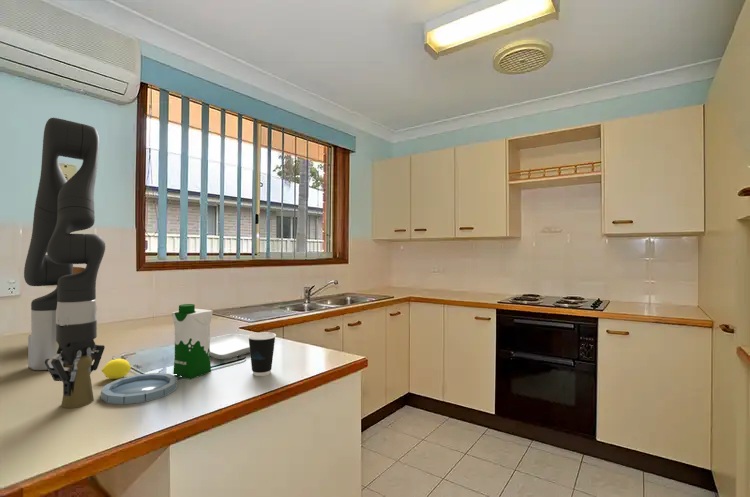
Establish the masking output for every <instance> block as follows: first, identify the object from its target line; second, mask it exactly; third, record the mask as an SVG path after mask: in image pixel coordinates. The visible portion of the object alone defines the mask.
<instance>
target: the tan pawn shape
mask: <svg viewBox="0 0 750 497" xmlns="http://www.w3.org/2000/svg"><path fill="white" fill-rule="evenodd" d="M91 365H93V361H92V358H91V357H90V356H81V357H80V360H79V361H78V364H77V365H76V366H77V368H78V370H76V377H75V380H74V381H75V383H74V391H73V392H72V389H71V396H64V395H63V394H62V399H61V405H60V407H62V408H63V409H71V408H72V409H74V408H75V409H76V408H79V407H80V408H81V407H83V406H87V405H89V404H91V403H93V402H94V401H95V399H94V398H95V397H94V391H93V385H92V378H91V374H90V371H89V368H90V367H91ZM65 367H70V368H71V367H72V365H65ZM69 374H70V372H69V371H68V376H69Z"/></svg>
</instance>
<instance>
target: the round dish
mask: <svg viewBox="0 0 750 497" xmlns="http://www.w3.org/2000/svg"><path fill="white" fill-rule="evenodd" d="M177 386H178V376H173V374H171V373H164V372H163V373H162V372H151V373H150V372H149V373H141V374H134V375H131V376H130V375H129V376H124V377H122V378H120V379H115V380H114V381H111V382H109V383H106V384H105V385H104V386H103V387H102V389H101V390H100V400H102V401H103V402H105V403H106V404H112V405H133V404H139V403H146V402H150V401H152V400H153V401H154V400H157V399H160V398H164V397H166V396H168V395H169V394H171V393H172V392H174V391H176V389H177V388H178V387H177Z"/></svg>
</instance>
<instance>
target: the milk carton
mask: <svg viewBox="0 0 750 497" xmlns="http://www.w3.org/2000/svg"><path fill="white" fill-rule="evenodd" d="M195 306H196V305H195V304H193V303H184V304H180V305H178V310H177V311H172V312H171V315H172V320H173V325H174V359H173V360H174V362H173V373H172V375H173V374H177V375H181V376H182V377H183V378H182V377H181V378H182V379H186V380H187V379H188V380H193V379H195V378H199V377H201V376H204V375H207V374H209V373H212V367H211V357H210V338H211V322H212V318H213V313H214V310H210V309H204V308H203V309H202V308H196V307H195Z"/></svg>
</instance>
